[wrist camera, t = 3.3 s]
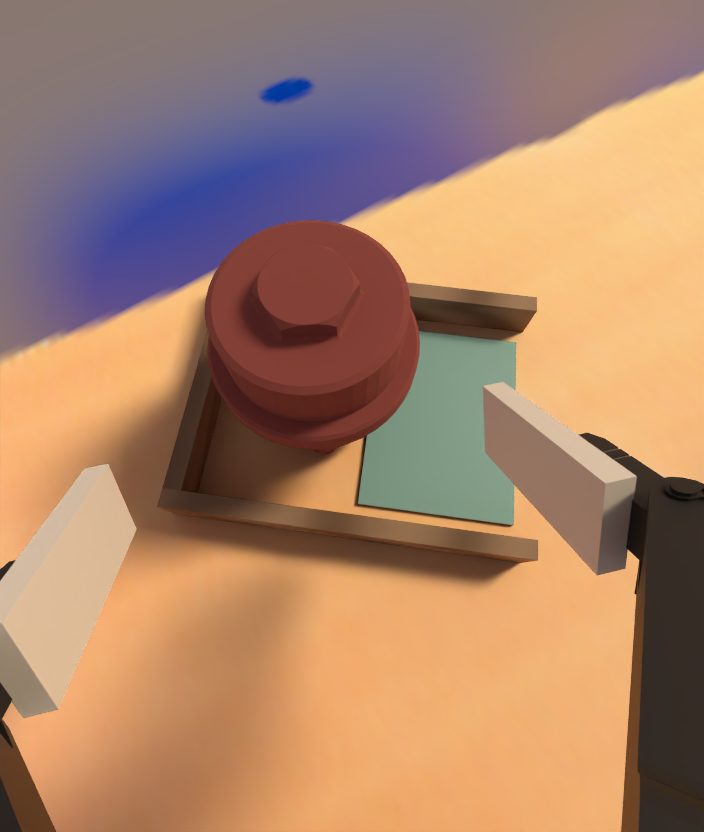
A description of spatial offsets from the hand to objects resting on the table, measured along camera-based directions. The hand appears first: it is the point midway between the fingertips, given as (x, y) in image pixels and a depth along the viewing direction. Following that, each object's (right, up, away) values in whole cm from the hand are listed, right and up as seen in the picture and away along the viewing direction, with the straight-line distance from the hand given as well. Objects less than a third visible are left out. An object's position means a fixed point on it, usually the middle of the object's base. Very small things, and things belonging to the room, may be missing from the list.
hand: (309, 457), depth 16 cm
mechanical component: (0, +2, +13) cm, 13 cm away
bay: (+2, +2, +13) cm, 13 cm away
